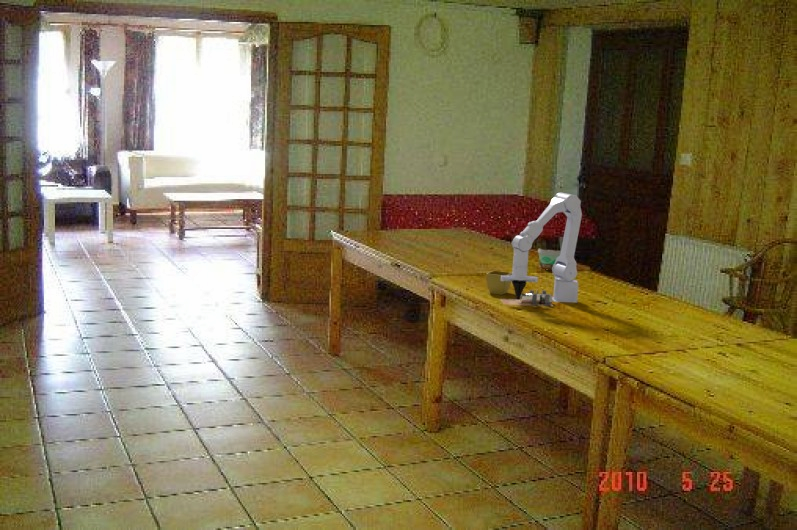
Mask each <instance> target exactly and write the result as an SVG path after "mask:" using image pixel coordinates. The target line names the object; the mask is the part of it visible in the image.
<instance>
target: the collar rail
mask: <svg viewBox="0 0 797 530" xmlns="http://www.w3.org/2000/svg"><path fill="white" fill-rule="evenodd" d="M535 291H536V293H535ZM528 292H529V293H528V294H532V303H531V305H533V307H535V306H536V307H537V306H538V304H537V303H536V300H537V294H540V293H539V289H536V290H534V289H529V291H528ZM541 294H545V300H544V306H542V305H541V304H539V305H540V306H539V307H552V306H551V305H550V304H549V293H547V290H545V289H544V290H543V289H542V290H541ZM531 305H530V306H531Z"/></svg>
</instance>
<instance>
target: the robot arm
mask: <svg viewBox="0 0 797 530" xmlns="http://www.w3.org/2000/svg"><path fill="white" fill-rule="evenodd" d="M581 202H582V200H581V199H580V198H579V197H578V196H577V195H576V194H570V193H565V192H562V191H560V192H558V193H556V194H555V195H554V197H553V198H551V200H550V203H549V204H548V206H547V207H545V209H544V210H543V211H542V213H541V214H540V215H539V216H538V218H537V220H533V221H529V222H528V223H527V226H526V227H525V228H524V229H523V231H521V232H520V233H519V235H518V234H517V235H515V236H514V238H513V240H512V241H511V243H510V244H511V246H512V248H513V257H512V272H511V273H512V275H501V281H511V285H512V286H513V289H514V294H515V299H516V300H520V297H521V294H523V291H524V289H525V287H526V286H527V282H528V283H539V281H538V280H539V277H538V276H530V275H528V264H529V263H528V262H529V251H530V249H532V247H533V243H534V241H535V240H536V239H537V238H538V237H539V235H540V234H542V232H543V230H544V229H543V228H544V226H545V225H546V224H547V223H548V222H549V221H550V220H551V219H552V218H553V217H554V216H555V215H556V214H558V213H564V215H565V216H566V223H565V227H564V228H565V229H564V233H563V238H562V243H561V249H560V251H561V253H560V256H558V257H557V258H556V262H555V264H554V265H553V267H552V271H551V272H552V274H553V275H554V285H553V296H552V302H555V303H556V302H557V303H574V304H575V303H578V299H579V298H578V295H579V282H578V280H577V279H576V277H577V275H578V270H577V261H576V260H575V253H576V248H577V243H578V238H579V237H578V236H579V232H580V227H581V221H582V217H583V213H582V208H581V204H582V203H581ZM575 279H576V280H575Z"/></svg>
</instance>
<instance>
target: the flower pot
mask: <svg viewBox="0 0 797 530" xmlns="http://www.w3.org/2000/svg"><path fill="white" fill-rule="evenodd" d="M501 275H512V272H509V271H502V270H491V271H488V272H487V273H486V275H485V276H486V277H485V278H486V285H487V290H488V292H489V293H490V294H494V295H502V296H503V295H504V294H507V293H508V291H509V289H510V287H511V285H512V281H501Z"/></svg>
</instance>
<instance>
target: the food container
mask: <svg viewBox="0 0 797 530" xmlns="http://www.w3.org/2000/svg"><path fill="white" fill-rule="evenodd" d="M537 253H538V260H539V261H538V264H539V266H538V267H540V268H542V269H548V270H552V267H553V265H554V264H555V262H556V258H557V257H558V256H560V253H561V250H553V249H543V248H538V249H537ZM540 268H539V269H540ZM542 269H541V270H542Z"/></svg>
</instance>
